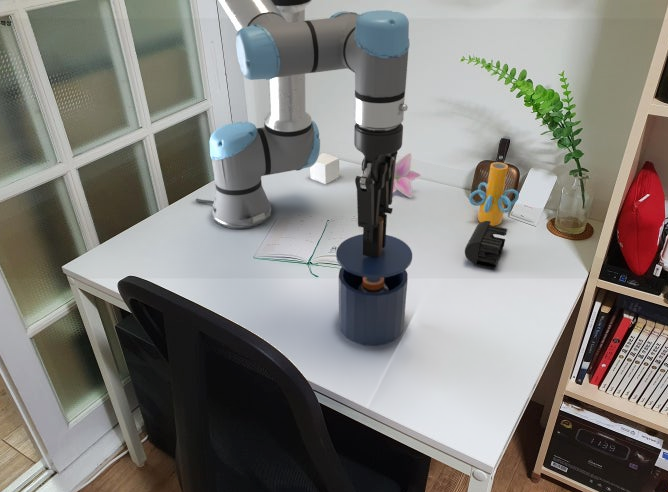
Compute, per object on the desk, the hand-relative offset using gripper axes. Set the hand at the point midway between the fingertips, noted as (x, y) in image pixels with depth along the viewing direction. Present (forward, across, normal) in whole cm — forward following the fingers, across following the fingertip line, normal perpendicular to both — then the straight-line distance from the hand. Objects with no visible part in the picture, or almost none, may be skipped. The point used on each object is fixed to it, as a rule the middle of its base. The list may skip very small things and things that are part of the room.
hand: (374, 250), depth 100 cm
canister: (+18, 0, 0) cm, 18 cm away
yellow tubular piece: (+18, +50, -13) cm, 55 cm away
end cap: (+18, +33, -15) cm, 41 cm away
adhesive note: (+18, +56, +36) cm, 69 cm away
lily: (+18, +56, +14) cm, 61 cm away
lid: (+1, 0, 0) cm, 1 cm away
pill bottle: (+18, 0, 0) cm, 18 cm away
